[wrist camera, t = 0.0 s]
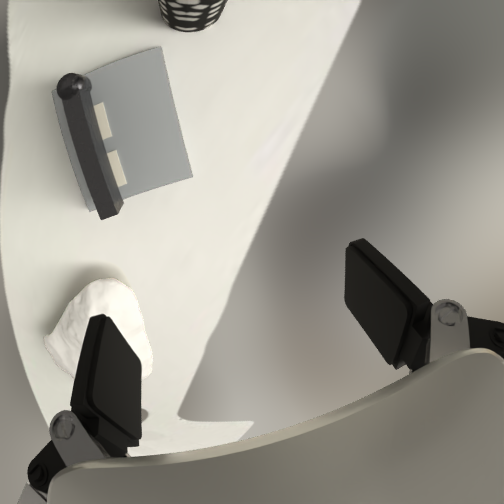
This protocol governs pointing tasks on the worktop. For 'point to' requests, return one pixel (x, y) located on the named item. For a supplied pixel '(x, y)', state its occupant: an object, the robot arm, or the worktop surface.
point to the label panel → (133, 125)
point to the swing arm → (89, 144)
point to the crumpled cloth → (94, 303)
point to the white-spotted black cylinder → (191, 13)
